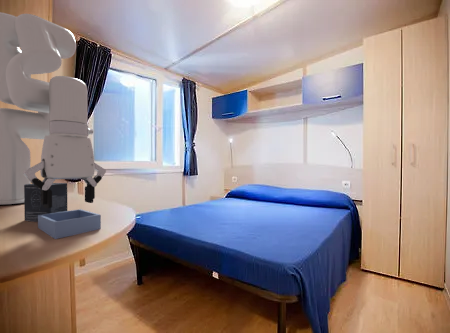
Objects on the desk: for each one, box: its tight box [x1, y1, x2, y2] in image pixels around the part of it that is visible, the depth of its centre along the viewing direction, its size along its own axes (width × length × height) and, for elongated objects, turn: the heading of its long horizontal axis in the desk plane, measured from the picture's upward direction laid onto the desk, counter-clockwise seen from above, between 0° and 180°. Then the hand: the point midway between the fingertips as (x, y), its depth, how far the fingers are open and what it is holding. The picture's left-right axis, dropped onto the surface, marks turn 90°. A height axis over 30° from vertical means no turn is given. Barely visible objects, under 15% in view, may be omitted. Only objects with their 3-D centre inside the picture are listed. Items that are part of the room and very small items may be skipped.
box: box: [23, 182, 68, 223], centre depth 62 cm, size 8×6×11 cm
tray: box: [37, 208, 102, 240], centre depth 55 cm, size 11×9×4 cm
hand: (69, 204), depth 55 cm, fingers open, 8 cm apart
